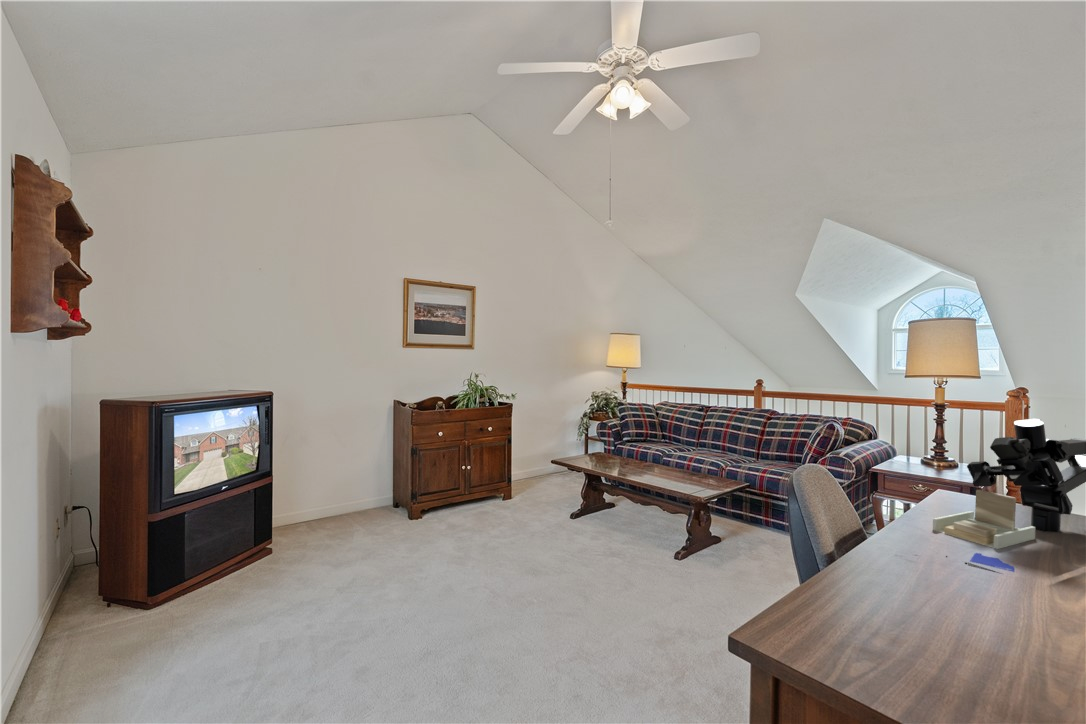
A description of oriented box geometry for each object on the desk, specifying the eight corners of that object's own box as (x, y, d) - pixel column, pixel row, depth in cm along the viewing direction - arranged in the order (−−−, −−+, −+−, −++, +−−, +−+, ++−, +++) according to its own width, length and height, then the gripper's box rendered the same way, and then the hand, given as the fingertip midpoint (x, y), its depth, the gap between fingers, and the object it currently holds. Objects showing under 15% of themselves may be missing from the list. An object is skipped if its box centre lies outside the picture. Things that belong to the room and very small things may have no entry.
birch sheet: (977, 526, 138) (978, 489, 138) (1014, 536, 131) (1016, 497, 131) (974, 526, 138) (976, 490, 138) (1011, 536, 131) (1013, 498, 130)
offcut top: (964, 525, 134) (964, 520, 134) (996, 534, 127) (997, 528, 127) (953, 528, 132) (953, 522, 132) (986, 537, 125) (986, 531, 125)
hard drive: (1017, 572, 108) (1019, 557, 117) (967, 560, 114) (973, 546, 123) (1017, 580, 108) (1019, 564, 117) (967, 567, 114) (973, 553, 123)
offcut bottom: (957, 529, 135) (957, 524, 135) (999, 541, 127) (999, 535, 127) (944, 532, 133) (944, 526, 133) (986, 544, 124) (986, 538, 124)
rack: (969, 525, 142) (970, 510, 142) (1034, 542, 130) (1035, 527, 130) (932, 533, 135) (933, 518, 135) (997, 552, 122) (998, 536, 122)
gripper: (975, 437, 143) (941, 456, 138) (1056, 429, 126) (1021, 450, 121) (993, 475, 142) (960, 496, 136) (1078, 472, 125) (1044, 496, 119)
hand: (993, 484), depth 128 cm, fingers open, 9 cm apart
